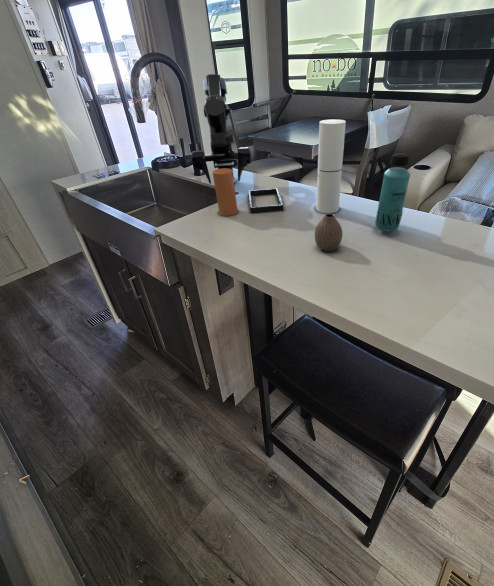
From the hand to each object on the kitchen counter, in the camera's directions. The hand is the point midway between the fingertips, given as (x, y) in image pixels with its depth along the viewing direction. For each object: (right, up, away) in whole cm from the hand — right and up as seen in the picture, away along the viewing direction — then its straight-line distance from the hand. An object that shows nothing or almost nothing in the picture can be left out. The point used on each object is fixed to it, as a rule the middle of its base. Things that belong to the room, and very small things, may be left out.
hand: (224, 182), depth 100 cm
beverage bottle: (+47, -19, -14) cm, 53 cm away
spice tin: (+1, -9, +2) cm, 9 cm away
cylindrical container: (+33, -9, +1) cm, 34 cm away
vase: (+30, -24, -20) cm, 43 cm away
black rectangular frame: (+13, -4, +7) cm, 15 cm away
